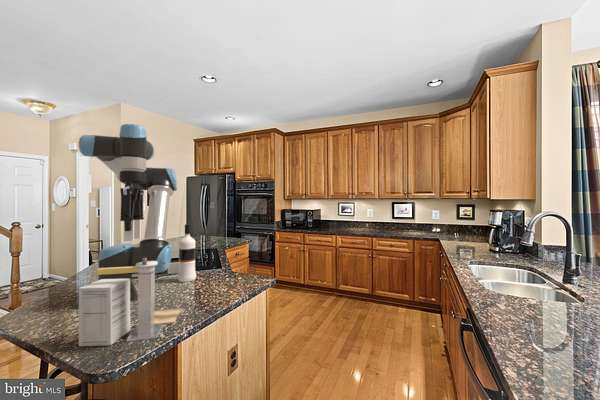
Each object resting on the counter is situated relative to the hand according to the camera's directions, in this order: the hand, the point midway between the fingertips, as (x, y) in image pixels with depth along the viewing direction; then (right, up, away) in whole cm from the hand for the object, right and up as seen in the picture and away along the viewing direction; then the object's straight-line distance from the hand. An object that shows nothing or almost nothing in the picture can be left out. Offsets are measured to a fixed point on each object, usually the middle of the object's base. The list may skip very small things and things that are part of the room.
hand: (132, 239), depth 86 cm
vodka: (-4, -30, +51) cm, 59 cm away
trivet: (+6, -29, +5) cm, 30 cm away
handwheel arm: (+3, -9, -7) cm, 12 cm away
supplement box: (-3, -29, -8) cm, 30 cm away
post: (+8, -29, -6) cm, 30 cm away
